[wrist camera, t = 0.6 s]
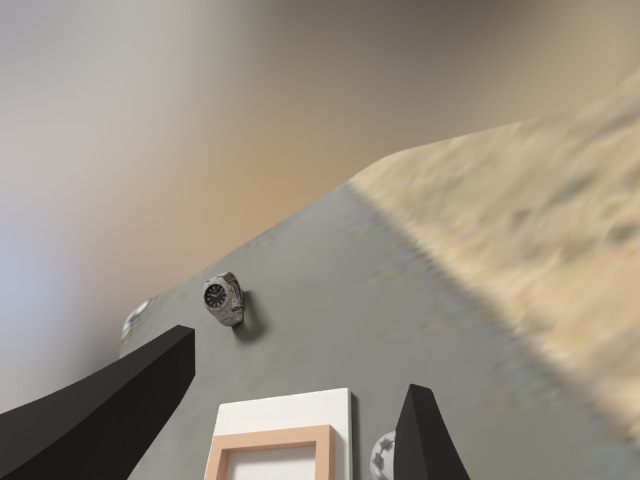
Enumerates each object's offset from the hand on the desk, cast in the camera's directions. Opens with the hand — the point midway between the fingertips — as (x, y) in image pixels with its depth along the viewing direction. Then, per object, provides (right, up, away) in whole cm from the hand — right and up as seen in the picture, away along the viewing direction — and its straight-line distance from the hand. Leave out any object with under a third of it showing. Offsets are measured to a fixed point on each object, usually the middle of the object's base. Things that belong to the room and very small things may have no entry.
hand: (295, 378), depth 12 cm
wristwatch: (-8, -3, +30) cm, 31 cm away
